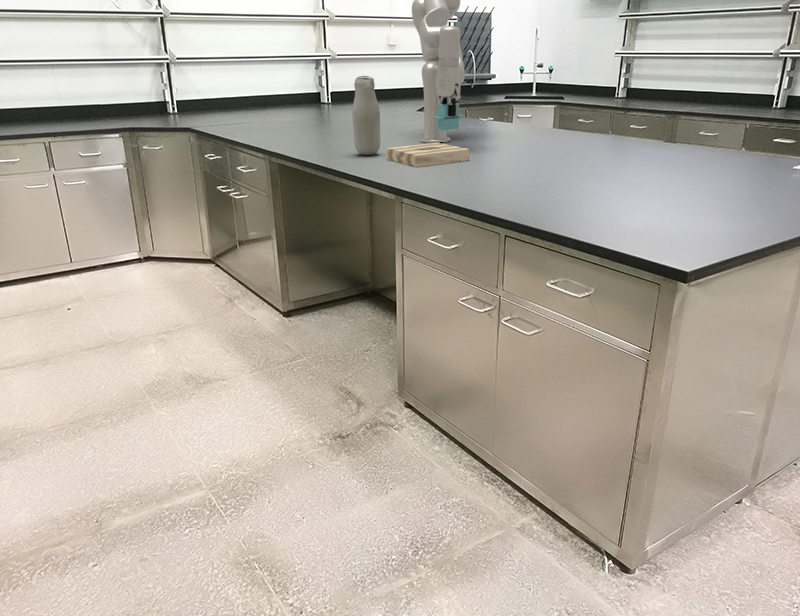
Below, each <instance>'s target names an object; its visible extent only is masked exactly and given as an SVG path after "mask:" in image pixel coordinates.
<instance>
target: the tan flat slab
mask: <svg viewBox="0 0 800 616" xmlns="http://www.w3.org/2000/svg"><path fill="white" fill-rule="evenodd" d="M470 154H471V153H470V148H466V147H460V146H456V145H451V144H446V143H423V144H414V145H413V144H412V145H405V146H404V145H403V146H396V147H395V146H394V147H387V148H386V160H389V161H393V162H396V163H400V164H404V165H407V166H410V167H413V168H414V167H415V168H420V167H429V166H435V165H443V164H445V165H446V164H451V163H452V162H453V163H459V161H461V162H467V161H466V160H469V161H470Z"/></svg>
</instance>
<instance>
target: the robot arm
mask: <svg viewBox="0 0 800 616" xmlns="http://www.w3.org/2000/svg"><path fill="white" fill-rule="evenodd" d="M460 6H461V0H413V2H412V4H411V16H412V17H411V18H412V21H413V25H414V27H415V29H416V31H417V34H418V37H419V41H420V48H421V54H422V58H423V61H424V62H425V63H424V64H423V66H421V67H422V68H421V79H422V85H423V123H424V125H423V126H424V127H423V130H422V131H421V133H420V134H421V135H423V137H420V142H422V143H425V144H430V143H440V142H443V143H449V142H450V141H451V137H449V136H448V135H447V133H448V132H447V131H448V130H440V129H438V120H435V119H433V117H436V116H438V104H449V105H448V116H455V115H456V105H457V104H458V101H459V100H460V99H461V97H462V96H461V85H462V83H464V80H465V75H466V72H465V65H464V60H463V54H462V53H463V52H462V49H461V30H460V28H459V27H457V26H454V25H446V24H447V23H448V21H449V19H451V18H453V17H454V16H455V15H456V13H457V12H458V11H459V9H460ZM448 141H449V142H448Z"/></svg>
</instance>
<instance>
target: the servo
mask: <svg viewBox="0 0 800 616" xmlns="http://www.w3.org/2000/svg"><path fill="white" fill-rule="evenodd" d="M448 105H449V104H438V116H436V117H433V119H435V120H438V129H440V130H447V131H450V130H459V127H460V126H459V123H460V121H459V120H460V119H464V114H460V104H459V103H457V105H456V115H455V116H448Z"/></svg>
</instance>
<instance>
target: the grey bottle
mask: <svg viewBox="0 0 800 616" xmlns="http://www.w3.org/2000/svg"><path fill="white" fill-rule="evenodd" d="M375 86H376V85H375V79H374V78H373V77H372V76H369V75H360V76H357V77H356V78H355V79H354V99H353V104H352V109H351V111H352V114H351V118H352V127H353V140H354V142H353V143H354V147H355V150H356V152H357V153H359V154H360V155H363V156H373V155H375V154H377V153H378V152H379V150H380V148H381V115H380V114H381V113H380V106H379V102H378V100H377V96H376V92H375Z"/></svg>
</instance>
